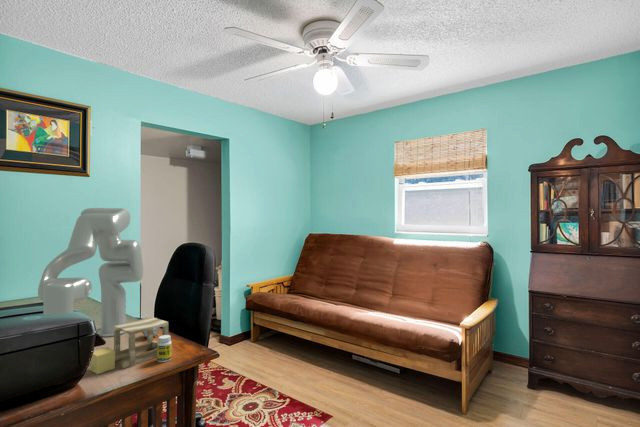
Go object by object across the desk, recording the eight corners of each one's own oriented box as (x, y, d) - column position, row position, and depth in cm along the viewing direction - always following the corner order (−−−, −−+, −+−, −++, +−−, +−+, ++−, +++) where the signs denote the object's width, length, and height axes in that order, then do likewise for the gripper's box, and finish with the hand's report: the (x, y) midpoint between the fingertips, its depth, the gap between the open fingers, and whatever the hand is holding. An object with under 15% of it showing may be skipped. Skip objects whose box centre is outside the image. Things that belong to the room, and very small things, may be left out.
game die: (145, 346, 148) (131, 328, 148) (161, 333, 155) (147, 316, 155) (153, 340, 143) (138, 321, 143) (170, 327, 150) (155, 309, 150)
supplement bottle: (156, 363, 122) (156, 339, 122) (157, 358, 126) (157, 335, 126) (171, 361, 124) (171, 337, 124) (171, 356, 128) (171, 333, 128)
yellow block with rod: (49, 383, 107) (49, 360, 107) (107, 364, 121) (107, 344, 121) (56, 388, 104) (56, 365, 104) (114, 368, 118) (114, 347, 118)
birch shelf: (108, 360, 124) (108, 327, 124) (151, 346, 137) (151, 316, 138) (124, 369, 117) (124, 333, 118) (168, 353, 131) (168, 321, 131)
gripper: (34, 321, 109) (34, 379, 108) (54, 331, 99) (54, 394, 99) (62, 315, 115) (62, 370, 115) (83, 324, 105) (83, 384, 105)
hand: (58, 381), depth 107 cm, fingers closed on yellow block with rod, 3 cm apart
